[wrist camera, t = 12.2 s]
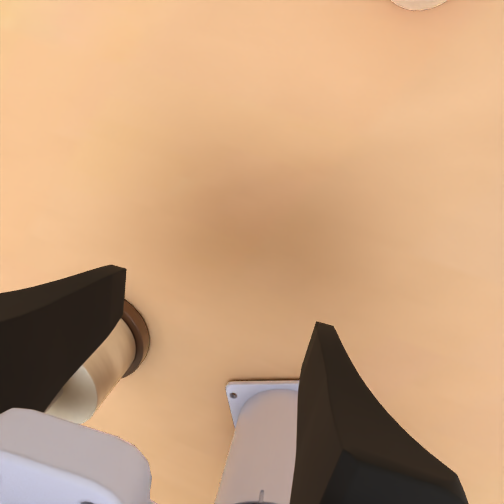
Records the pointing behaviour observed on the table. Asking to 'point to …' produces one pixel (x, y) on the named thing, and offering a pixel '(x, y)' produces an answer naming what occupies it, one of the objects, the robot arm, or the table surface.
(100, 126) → the table surface
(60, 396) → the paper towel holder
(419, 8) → the tube
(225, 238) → the table surface
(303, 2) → the table surface
